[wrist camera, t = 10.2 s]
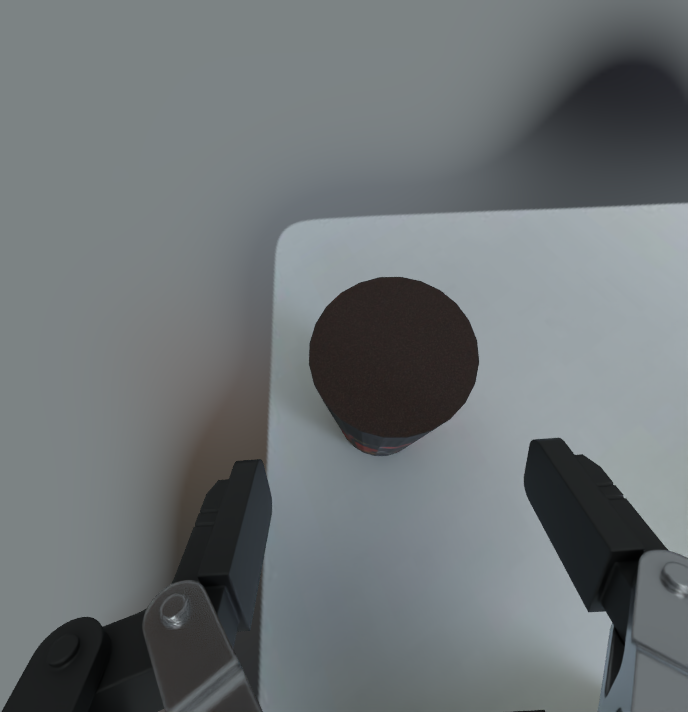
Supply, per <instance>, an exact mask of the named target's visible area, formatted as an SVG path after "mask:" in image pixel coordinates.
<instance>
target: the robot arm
mask: <svg viewBox="0 0 688 712" xmlns="http://www.w3.org/2000/svg"><path fill="white" fill-rule="evenodd" d="M524 487H525V491H526V495H527V497H528V499H529V501H530V503H531V505H532V507H533V509H534V511H535V513H536V515H537V516H538V518H539V520H540V522H541V524H542V526H543V528H544V530H545V531H546V533H547V535H548V537H549V539H550V541H551V543H552V545H553V546H554V548H555V550H556V552H557V554H558V556H559V558H560V560H561V561H562V563H563V565H564V567H565V569H566V571H567V573H568V575H569V577H570V578H571V580H572V582H573V584H574V586H575V588H576V590H577V592H578V593H579V595H580V597H581V599H582V601H583V603H584V605H585V607H586V608H587V610H588V612H601V611H606V612H607V614H608V616H609V618H610V619H611V621H612V625H611V628H610V633H609V640H608V647H607V653H606V660H605V667H604V674H603V681H602V688H601V694H600V701H599V706H598V711H597V712H688V558H686V557H684V556H682V555H680V554H677V553H674V552H671V551H669V550H668V549H667V548H666V547H665V546H664V545H663V543H662V542H661V541H660V540H659V539H658V537H657V536H656V535H655V534H654V532H653V531H652V530H651V529H650V527H649V526H648V525H647V524H646V522H645V521H644V520H643V519H642V518H641V516H640V515H639V514H638V513H637V511H636V510H635V509H634V508H633V506H632V505H631V504H630V503H629V501H628V500H627V499H626V498H624V497H623V494H622V493H621V492H620V490H619V489H618V488H617V487H616V485H613V482H612V480H611V479H610V478H609V477H608V476H607V474H606V473H605V472H604V471H603V469H602V468H601V467H600V466H598V465H597V464H596V463H594V462H593V461H591V460H590V459H588V458H587V457H586V456H584V455H583V454H582V455H574V454H573V452H572V451H571V450H570V448H569V447H568V446H567V444H566V443H565V442H564V441H563V440H562V439H561V438H549V439H535V440H532V441H531V442H530V446H529V451H528V457H527V462H526V468H525V474H524ZM271 515H272V497H271V492H270V488H269V484H268V480H267V476H266V472H265V468H264V465H263V462H262V460H261V459H257V460H244V461H236V462H235V464H234V466H233V469H232V472H231V475H230V478H229V479H228V480H218V481H217V483H216V484H215V485H214V486H213V487H212V489H211V490H210V491H209V492H208V493H207V494H206V497H205V499H204V502H203V505H202V507H201V510H200V514H199V515H198V518H197V520H196V523H195V527H194V528H193V531H192V533H191V536H190V539H189V541H188V544H187V546H186V549H185V552H184V554H183V557H182V559H181V562H180V565H179V567H178V570H177V573H176V575H175V578H174V580H173V582H172V584H171V585H169V586H168V587H166V588H165V589H163V590H162V591H161V592H160V593H159V594H158V595H156V597H155V598H154V599H153V600H152V602H151V603H150V604H149V606H148V608H147V609H145V610H143V611H141V612H139V613H137V614H135V615H132V616H129V617H127V618H124V619H122V620H119V621H117V622H114V623H111V624H109V625H106V626H104V627H102V626H101V624H100V623H99V622H98V621H97V620H96V619H94V618H91V617H82V618H77V619H74V620H71V621H69V622H67V623H65V624H63V625H62V626H60V627H59V628H57V629H56V630H55V631H53V632H52V633H51V634H50V635H49V636H48V637H47V638H46V639H45V640H44V641H43V642H42V643H41V644H40V646H39V647H38V648H37V650H36V651H35V653H34V654H33V656H32V658H31V660H30V661H29V663H28V665H27V667H26V669H25V670H24V672H23V674H22V676H21V678H20V679H19V681H18V683H17V685H16V686H15V688H14V690H13V692H12V694H11V696H10V697H9V699H8V701H7V703H6V705H5V707H4V708H3V710H2V712H158V711H160V710H162V709H164V708H165V712H263V711H262V709H261V707H260V705H259V702H258V700H257V698H256V696H255V694H254V692H253V690H252V687H251V685H250V683H249V681H248V679H247V677H246V675H245V672H244V670H243V668H242V666H241V665H240V663H239V661H238V658H237V656H236V654H235V652H234V650H233V647H234V643H235V638H236V633H237V631H250V628H251V623H252V618H253V612H254V607H255V602H256V596H257V591H258V585H259V580H260V575H261V569H262V564H263V559H264V553H265V548H266V542H267V537H268V532H269V526H270V521H271ZM515 712H545V710H535V711H515Z"/></svg>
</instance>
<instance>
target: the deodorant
mask: <svg viewBox="0 0 688 712" xmlns="http://www.w3.org/2000/svg"><path fill="white" fill-rule="evenodd" d="M478 365H479V356H478V346H477V339H476V337H475V334H474V332H473V329H472V327H471V324H470V322H469V320H468V319H467V317H466V316H465V314H464V313H463V312H462V310H461V309H460V308H459V306H458V305H457V304H456V303H455V302H454V301H453V300H451V299H450V298H449V297H448V296H446V295H445V294H444V293H443V292H441V291H440V290H438V289H436V288H434V287H432V286H430V285H428V284H426V283H424V282H421V281H417V280H413V279H408V278H403V277H379V278H376V279H372V280H368V281H365V282H361V283H358V284H356V285H355V286H353V287H351V288H349V289H347V290H345V291H344V292H342V293H341V294H339V295H338V296H337V297H336V298H335V299H334V300H333V301H332V302H331V303H330V304H329V305H328V306H327V307H326V308H325V310H324V311H323V313H322V315H321V316H320V318H319V319H318V321H317V322H316V324H315V328H314V331H313V334H312V337H311V341H310V350H309V366H310V370H311V374H312V378H313V382H314V385H315V387H316V389H317V391H318V392H319V394H320V396H321V398H322V399H323V401H324V403H325V404H326V406H327V408H328V409H329V411H330V412H331V414H332V416H333V417H334V419H335V421H336V422H337V424H338V425H339V427H340V429H341V430H342V432H343V433H344V435H345V437H346V438H347V440H348V441H349V442H350V443H351V444H352V445H353V446H354V447H355V448H357V449H359V450H361V451H362V452H364V453H367V454H371V455H374V456H387V455H391V454H394V453H397V452H399V451H401V450H402V449H404V448H406V447H407V446H409V445H410V444H412V443H414V442H415V441H417V440H418V439H420V438H421V437H423V436H424V435H426V434H428V433H429V432H431V431H432V430H434V429H435V428H437V427H439V426H440V425H442V424H443V423H445V422H446V421H448V420H450V419H451V418H452V417H453V415H454V414H455V413H456V412H457V411H458V410H459V409H460V408H461V407H462V406H463V405H464V404H465V402H466V400H467V398H468V396H469V394H470V393H471V391H472V389H473V387H474V385H475V382H476V376H477V371H478Z"/></svg>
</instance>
